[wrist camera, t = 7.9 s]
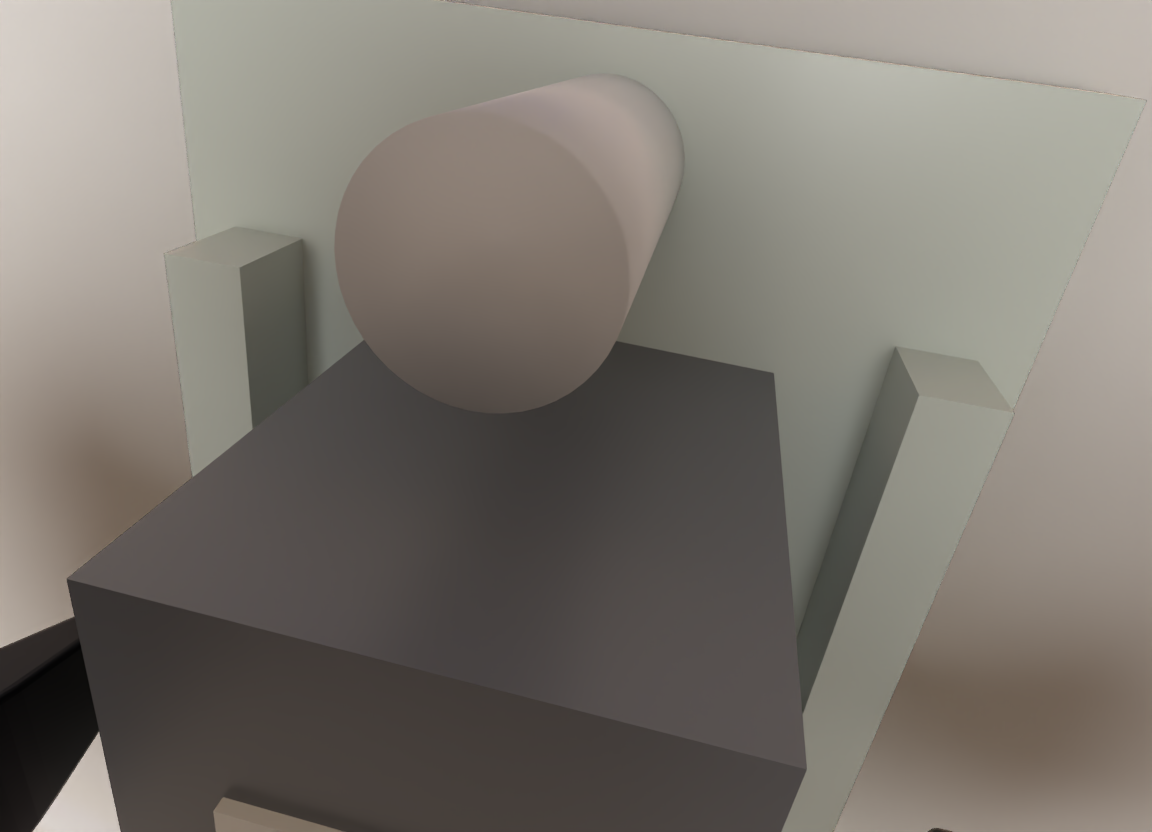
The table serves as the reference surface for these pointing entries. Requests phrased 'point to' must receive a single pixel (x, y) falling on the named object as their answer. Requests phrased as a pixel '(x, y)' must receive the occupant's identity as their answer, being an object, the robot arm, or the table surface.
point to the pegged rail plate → (647, 262)
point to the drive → (462, 615)
